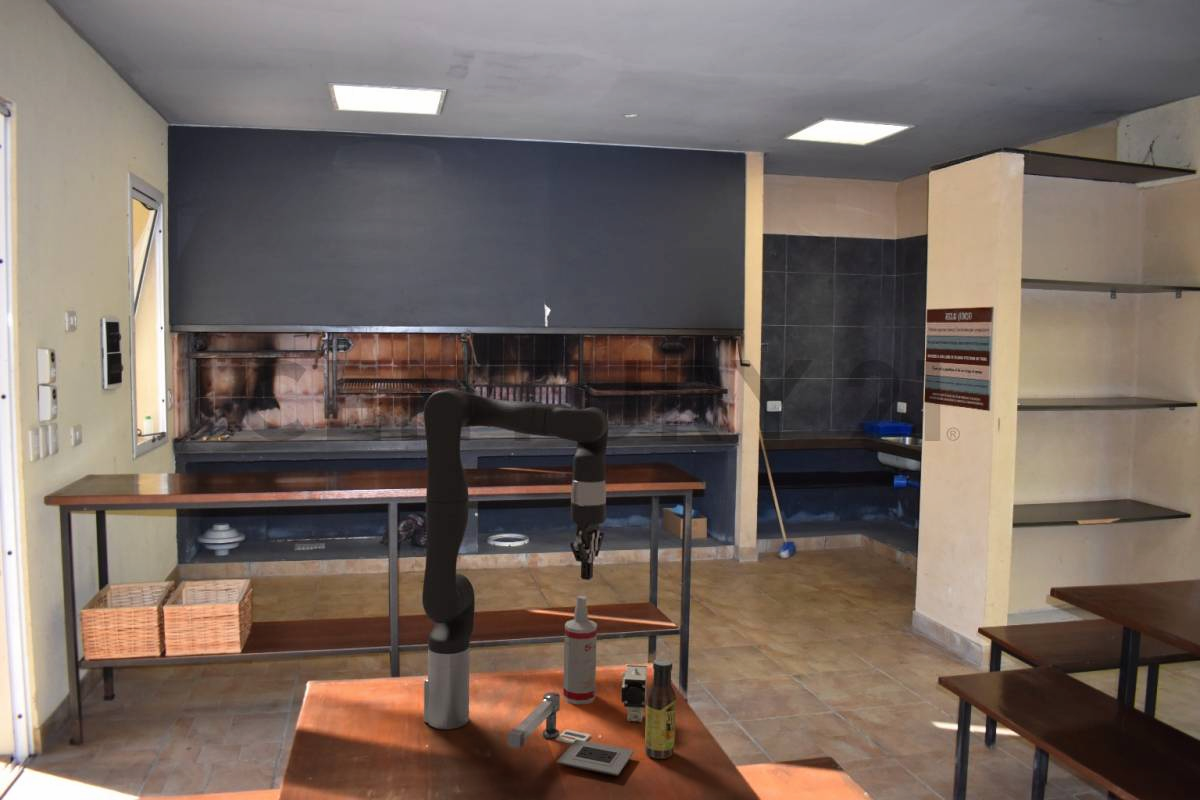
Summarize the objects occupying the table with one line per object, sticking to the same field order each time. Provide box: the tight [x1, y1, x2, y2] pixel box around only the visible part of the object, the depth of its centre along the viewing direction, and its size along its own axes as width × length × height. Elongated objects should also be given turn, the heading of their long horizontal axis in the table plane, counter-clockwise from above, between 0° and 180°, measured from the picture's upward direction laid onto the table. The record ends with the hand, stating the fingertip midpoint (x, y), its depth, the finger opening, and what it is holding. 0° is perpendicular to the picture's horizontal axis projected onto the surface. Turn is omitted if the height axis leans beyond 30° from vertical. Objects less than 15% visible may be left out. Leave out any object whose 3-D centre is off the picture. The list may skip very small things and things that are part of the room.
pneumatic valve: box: [621, 664, 648, 723], centre depth 206 cm, size 6×12×12 cm, turn 175°
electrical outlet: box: [556, 739, 635, 777], centre depth 185 cm, size 13×10×2 cm
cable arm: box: [507, 692, 561, 750], centre depth 188 cm, size 21×4×3 cm, turn 161°
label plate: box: [555, 728, 592, 745], centre depth 196 cm, size 6×5×1 cm
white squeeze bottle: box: [562, 595, 598, 705], centre depth 216 cm, size 8×8×25 cm
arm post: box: [542, 712, 560, 740], centre depth 197 cm, size 4×4×6 cm
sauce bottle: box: [644, 658, 677, 760], centre depth 189 cm, size 6×6×20 cm
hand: (586, 578), depth 195 cm, fingers closed
